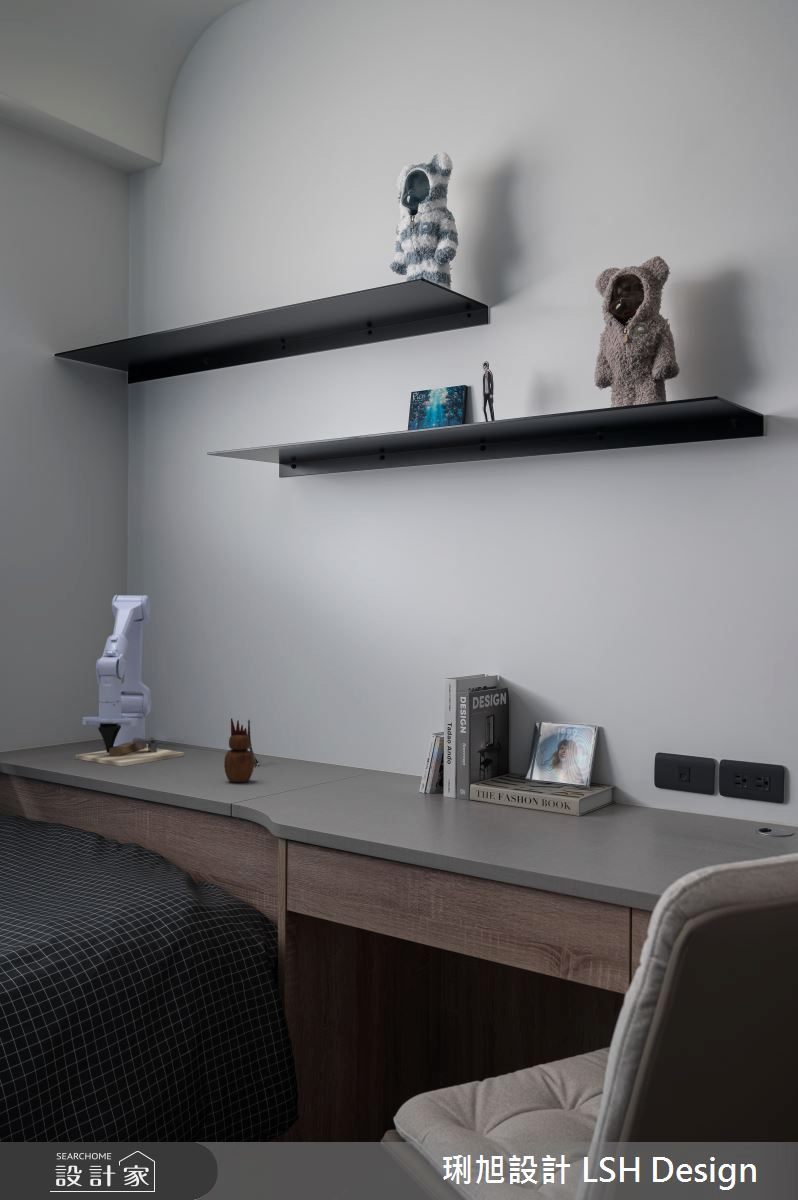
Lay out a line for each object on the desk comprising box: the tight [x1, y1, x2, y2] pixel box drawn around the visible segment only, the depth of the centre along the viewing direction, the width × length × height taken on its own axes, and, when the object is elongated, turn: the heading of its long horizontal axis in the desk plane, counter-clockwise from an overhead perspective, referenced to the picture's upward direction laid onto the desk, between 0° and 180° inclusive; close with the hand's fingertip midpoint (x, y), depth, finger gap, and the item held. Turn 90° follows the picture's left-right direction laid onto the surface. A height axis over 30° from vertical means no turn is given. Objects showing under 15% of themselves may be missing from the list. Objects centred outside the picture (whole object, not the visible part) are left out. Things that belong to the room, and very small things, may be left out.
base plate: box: [75, 747, 185, 767], centre depth 261 cm, size 19×21×1 cm
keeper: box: [132, 737, 158, 753], centre depth 264 cm, size 4×6×3 cm, turn 114°
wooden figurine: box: [223, 718, 255, 783], centre depth 228 cm, size 7×6×15 cm
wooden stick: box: [109, 737, 147, 756], centre depth 264 cm, size 16×3×3 cm, turn 169°
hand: (109, 752), depth 258 cm, fingers closed
